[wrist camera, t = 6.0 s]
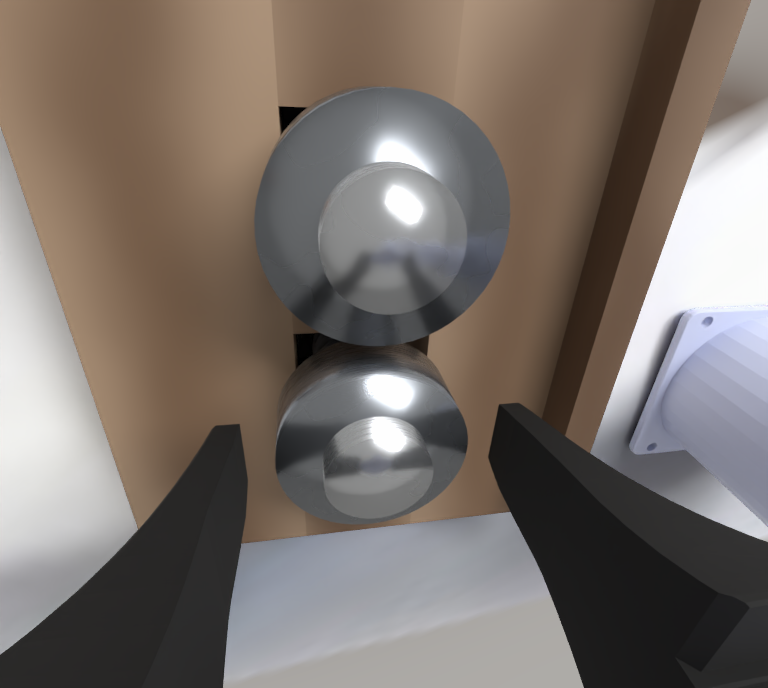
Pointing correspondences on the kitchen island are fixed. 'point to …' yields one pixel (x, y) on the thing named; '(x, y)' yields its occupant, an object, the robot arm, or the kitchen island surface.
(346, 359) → the stepped metal shaft
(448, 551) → the kitchen island surface
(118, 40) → the block
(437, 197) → the seated shaft
